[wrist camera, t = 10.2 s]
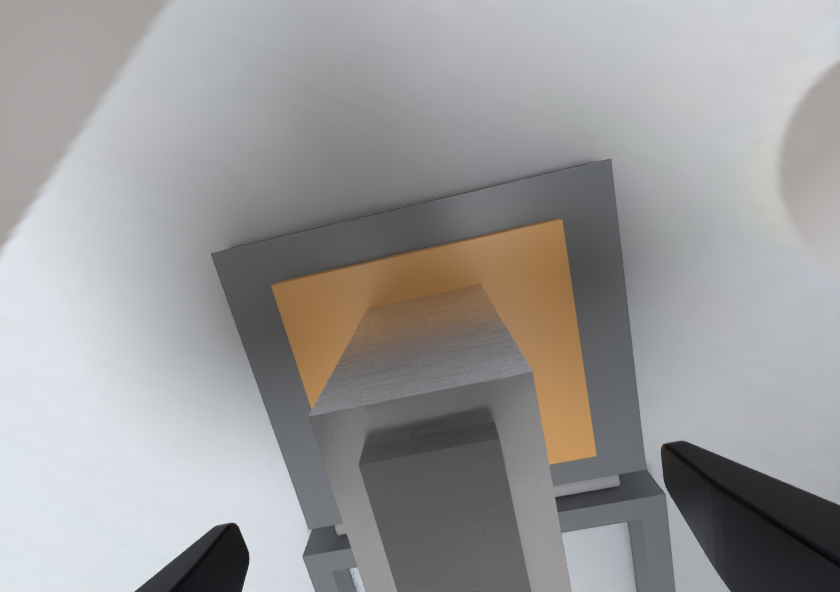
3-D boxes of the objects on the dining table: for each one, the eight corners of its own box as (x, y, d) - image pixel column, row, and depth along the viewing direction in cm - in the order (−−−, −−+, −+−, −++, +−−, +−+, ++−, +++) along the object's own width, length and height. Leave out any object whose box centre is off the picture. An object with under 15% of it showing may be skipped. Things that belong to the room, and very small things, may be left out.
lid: (596, 161, 14) (619, 157, 13) (633, 470, 17) (656, 501, 16) (227, 249, 15) (201, 256, 14) (322, 526, 18) (311, 561, 17)
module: (480, 283, 14) (540, 385, 6) (511, 437, 15) (589, 664, 8) (367, 308, 14) (298, 433, 7) (407, 457, 15) (387, 693, 8)
